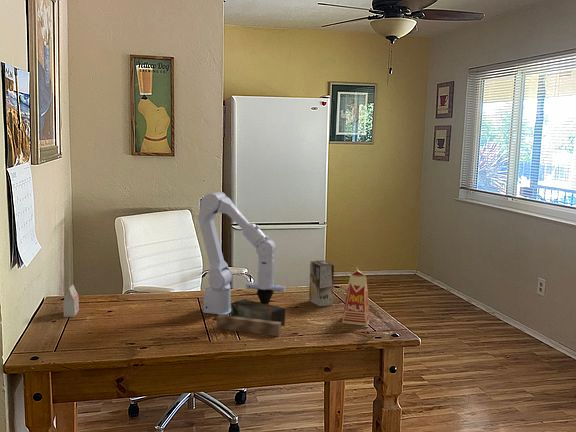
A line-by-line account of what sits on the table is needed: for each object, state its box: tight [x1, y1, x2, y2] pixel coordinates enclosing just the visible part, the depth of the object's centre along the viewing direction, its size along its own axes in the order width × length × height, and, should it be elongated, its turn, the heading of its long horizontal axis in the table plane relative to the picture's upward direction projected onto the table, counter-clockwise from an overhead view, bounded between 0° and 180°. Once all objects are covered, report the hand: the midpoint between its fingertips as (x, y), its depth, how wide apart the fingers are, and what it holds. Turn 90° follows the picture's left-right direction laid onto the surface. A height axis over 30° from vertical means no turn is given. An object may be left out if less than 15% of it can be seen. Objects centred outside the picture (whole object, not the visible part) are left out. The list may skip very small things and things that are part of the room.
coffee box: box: [308, 260, 335, 307], centre depth 230 cm, size 9×6×16 cm
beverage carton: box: [230, 298, 286, 327], centre depth 206 cm, size 8×19×7 cm, turn 53°
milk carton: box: [341, 267, 370, 327], centre depth 208 cm, size 9×9×20 cm
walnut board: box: [216, 314, 282, 337], centre depth 195 cm, size 22×2×4 cm, turn 73°
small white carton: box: [62, 284, 80, 318], centre depth 208 cm, size 4×7×10 cm, turn 8°
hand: (264, 309), depth 211 cm, fingers closed
